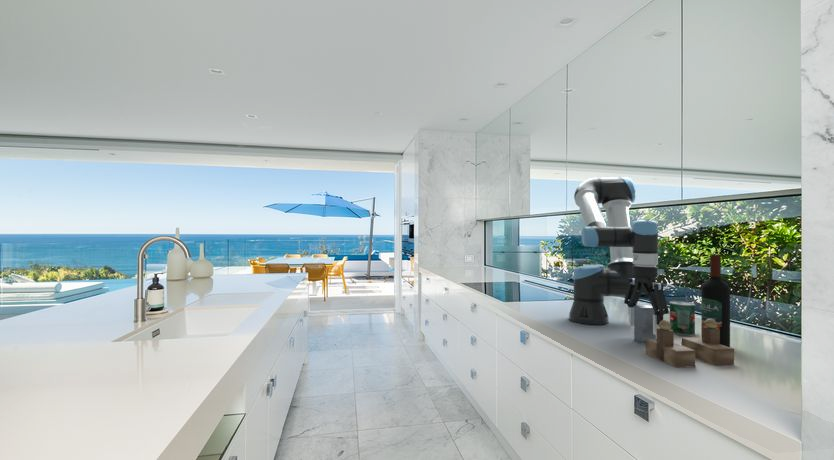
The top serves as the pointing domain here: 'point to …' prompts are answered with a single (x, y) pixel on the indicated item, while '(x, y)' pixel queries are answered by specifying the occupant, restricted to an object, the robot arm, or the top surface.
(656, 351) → the pair of knobbed blocks
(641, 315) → the grey brushed pillar
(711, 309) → the wine bottle
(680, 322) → the canned tomato
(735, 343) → the top surface
